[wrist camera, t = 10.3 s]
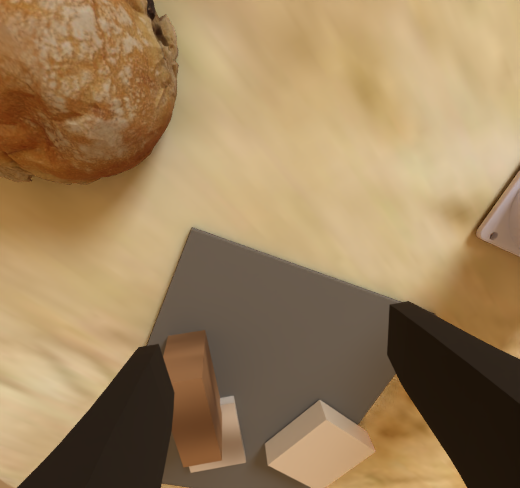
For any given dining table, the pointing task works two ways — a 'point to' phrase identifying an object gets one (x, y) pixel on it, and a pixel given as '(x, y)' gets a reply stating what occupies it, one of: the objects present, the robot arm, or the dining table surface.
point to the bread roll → (83, 87)
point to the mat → (273, 347)
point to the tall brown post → (201, 407)
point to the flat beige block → (318, 446)
